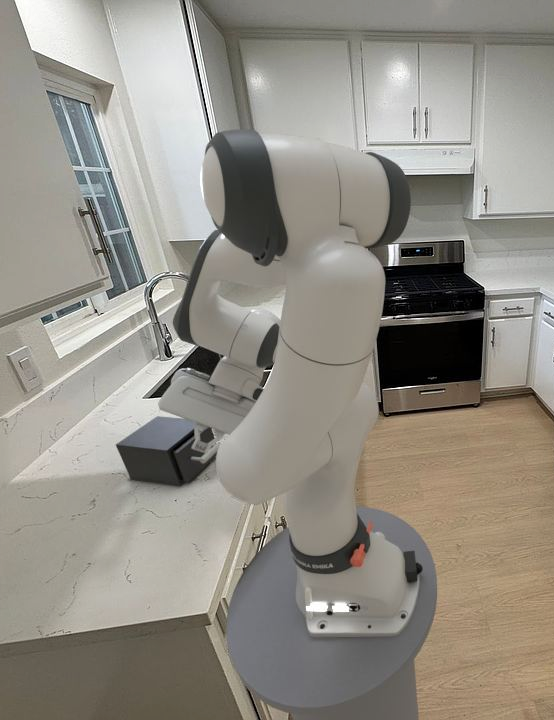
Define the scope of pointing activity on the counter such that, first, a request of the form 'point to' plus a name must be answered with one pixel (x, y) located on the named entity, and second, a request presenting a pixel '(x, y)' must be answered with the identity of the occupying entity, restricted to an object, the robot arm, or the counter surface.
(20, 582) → the counter surface
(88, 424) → the counter surface
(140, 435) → the drawer box
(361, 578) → the robot arm
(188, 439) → the dark grey drawer
